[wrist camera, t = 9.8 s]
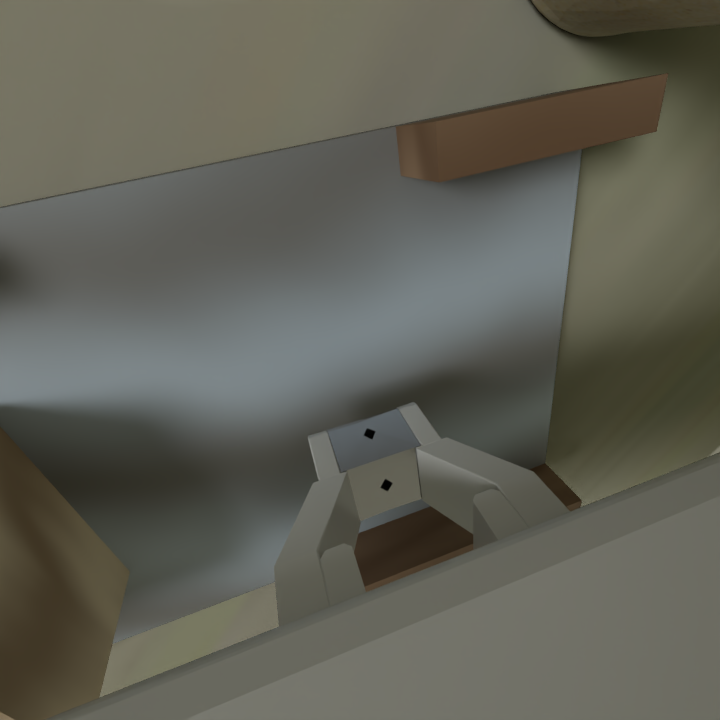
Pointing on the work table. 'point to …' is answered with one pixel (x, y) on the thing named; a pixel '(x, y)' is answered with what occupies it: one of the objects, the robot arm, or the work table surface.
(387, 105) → the work table surface
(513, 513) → the robot arm
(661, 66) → the work table surface
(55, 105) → the work table surface
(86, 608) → the beech block
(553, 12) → the flower pot
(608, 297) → the work table surface
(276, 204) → the channel
